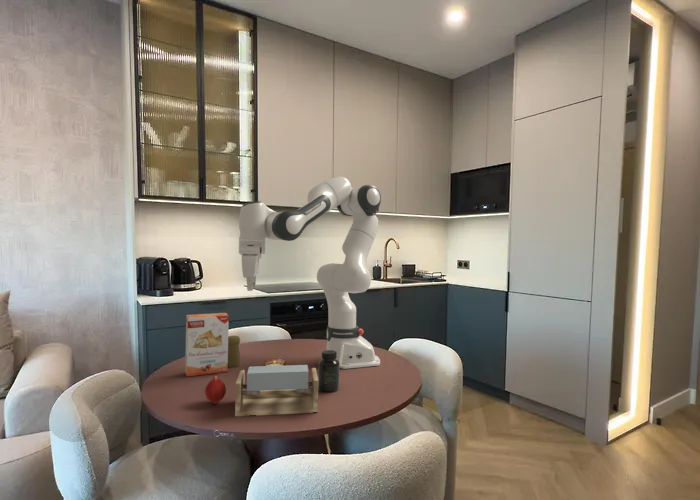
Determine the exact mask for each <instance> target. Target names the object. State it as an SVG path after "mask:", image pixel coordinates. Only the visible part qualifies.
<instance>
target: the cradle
mask: <svg viewBox="0 0 700 500" xmlns="http://www.w3.org/2000/svg"><path fill="white" fill-rule="evenodd" d="M317 372H318V371H317V368H316V367H312V368H311V381H308V389H291V390H267V391H247V383H245V374H246V373H245V369H243V370H242V369H241V370H240V371H239V373H238V377H237V378H236V381H235V392H234V393H235V394H234V395H235V399H234V400H235V404H234V406H235V407H234V409H235V410H234V411H235V412H234V417H249V415H256V416H273V415H275V416H276V415H293V414H295V415H296V414H313V412H319V388H318V374H317ZM246 415H247V416H246Z"/></svg>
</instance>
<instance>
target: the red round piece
mask: <svg viewBox="0 0 700 500" xmlns="http://www.w3.org/2000/svg"><path fill="white" fill-rule="evenodd" d="M226 392H227V388H226V384H225V383H224V381H223V380H222V379H220V378H218V376H213V379H212V380H210V381H209V382H208V383H207V385H206V386H205V389H204V394H205V398H206V399H207V400H209V401H210V402H212V404H214V405H215V404H216V405H217V404H218V403H219V402H220V401H222V400H223V399H224V397H225V396H226Z"/></svg>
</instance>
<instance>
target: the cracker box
mask: <svg viewBox="0 0 700 500" xmlns="http://www.w3.org/2000/svg"><path fill="white" fill-rule="evenodd" d="M185 317H186V318H185V362H184V363H185V364H184V365H185V366H184V368H185V369H184V371H185V375H186V377H195V376H202V375H203V376H205V375H212V374H220V373H225V372H226V373H227V372H228V368H229V367H228V337H229V328H230V327H229V323H230V322H229V321H230V317H229V314H228V313H227V312H218V313H216V312H215V313H199V314H197V313H196V314H186V315H185Z"/></svg>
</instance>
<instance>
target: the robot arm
mask: <svg viewBox="0 0 700 500" xmlns="http://www.w3.org/2000/svg"><path fill="white" fill-rule="evenodd" d="M381 200H382V195H381V193H380V189H378V187H376V186H375V185H372V184H364V185H362V186H357V187H352V184H351V182H350V181H349V180H348V179H347V178H346V177H344V176H340V175H338V176H335V177H333V178H330V179H327V180H324V181H323V182H320V183H318V184H317V185H315V186H314V187H313V188H312V189H310V190H309V191H308V194H307V203H306V204H304V205H302V206H301V207H299V208H298V209H295V210H286V211H280V212H277V211H276V210H273V209H271V208H270V207H268V206H267V205H266V204H265V202H263V201H251V202H250V201H249V202H245V203H243V205H241V207H240V211H239V216H238V217H239V219H238V228H239V238H238V254H239V255H240V256H241V269H242V271H241V272H242V277H243V278H244V279H246V290H247V292H250V291H251V292H252V291H253V289H254V288H256V286H257V285H256V282H257V281H256V280H257V275H258V274H259V273H260V259H262V255H265V254H266V239H269V240H277V241H287V242H291V241H295V240H297V238H299V237H300V236H301V235H302V233H303V232H304V231H305V229H306V228H307V226H309V225H310V224H311V223H313V222H314V221H316V220H317V219H319V218H320V217H321V216H323V215H324V214H326V213H328V212H330V211H332V210H334V209H335V208H337V210H338V212H339V213H340V214H341V215H342V216H345V217H346V216H347V217H351V216H353V219H352V220H353V221H352V224H351V226H350V228H349V230H348V232H347V235H346V236H345V239H344V242H343V243H342V247H341V250H342V252H343V254H344V255H345V257H344V258H345V259H344V262H342V263H327V264H324V265H321V266H320V267H319V268H318V270H317V273H316V281H317V284H318V285H319V286H320V287H321V288H322V290H323V293H324V296H325V298H326V301H327V302H326V303H327V309H328V311H327V312H328V313H327V314H328V316H327V317H328V323H327V324H328V325H327V327H326V341H327V343H326V350H333V351H336V352H337V358H336V359H337V360H338V361H339V364H340V368H339V369H342V370H343V369H345V370H346V369H355V368H357V369H358V368H368V367H375V366H376V367H377V366H380V365H381V359H380V357H379V356H378V355H376V353H375V350H374V347H373V345H372V344H371V342H369V341H368V340H367V339H366V338H364V337H363V336H362V335H363V334H364V330H363V328H361V327H359V326H358V325H357V306H356V305H355V303H354V302H353V301H352V300H351V298H350V295H349V293H350V294H359V293H360V294H361V293H365V292H366V291H367V290H368V289H369V287H371V283H372V275H371V272H370V271H369V269H368V266H367V263H368V262H367V261H368V256H369V254H370V251H371V248H372V245H373V243H374V241H375V238H376V237H377V236H376V235H377V232H378V227H379V218H378V216H376V215H377V213H378V212H379V209H380V206H381V202H382V201H381Z"/></svg>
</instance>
